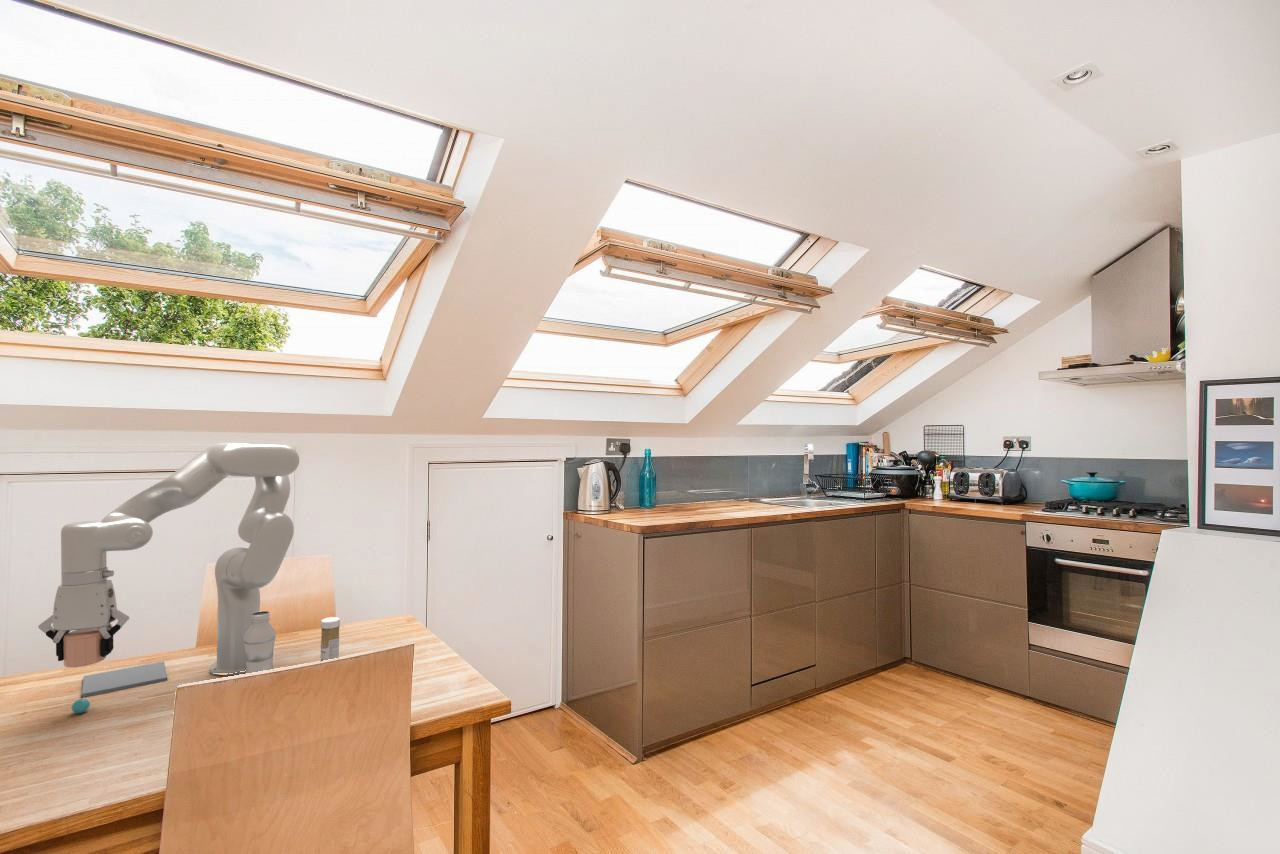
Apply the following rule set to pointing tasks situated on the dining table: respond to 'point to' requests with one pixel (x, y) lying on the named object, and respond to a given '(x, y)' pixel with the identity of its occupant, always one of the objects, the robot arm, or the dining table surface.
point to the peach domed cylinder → (82, 648)
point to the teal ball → (80, 706)
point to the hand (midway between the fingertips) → (85, 656)
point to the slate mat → (123, 678)
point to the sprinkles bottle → (330, 638)
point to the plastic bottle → (259, 643)
